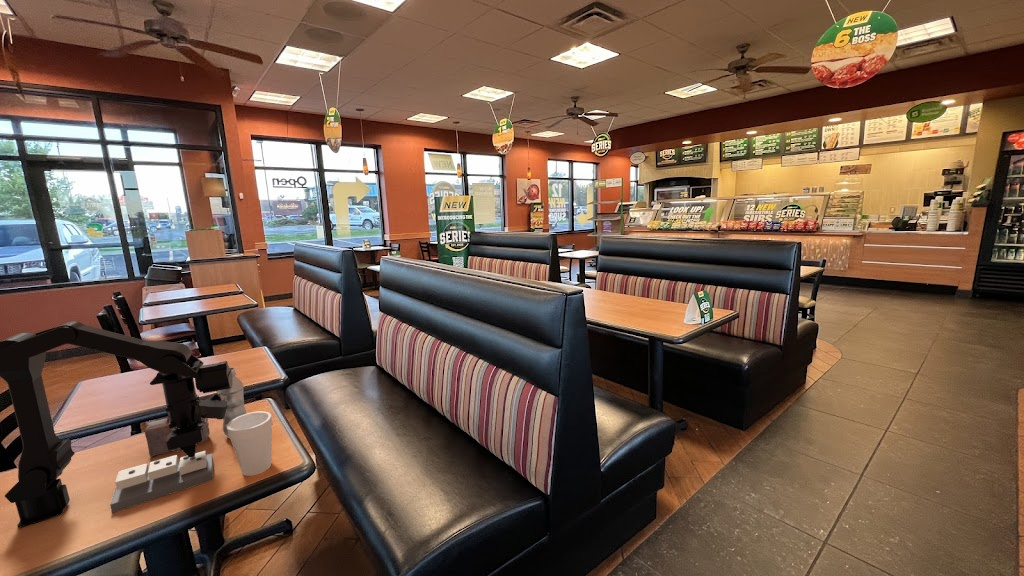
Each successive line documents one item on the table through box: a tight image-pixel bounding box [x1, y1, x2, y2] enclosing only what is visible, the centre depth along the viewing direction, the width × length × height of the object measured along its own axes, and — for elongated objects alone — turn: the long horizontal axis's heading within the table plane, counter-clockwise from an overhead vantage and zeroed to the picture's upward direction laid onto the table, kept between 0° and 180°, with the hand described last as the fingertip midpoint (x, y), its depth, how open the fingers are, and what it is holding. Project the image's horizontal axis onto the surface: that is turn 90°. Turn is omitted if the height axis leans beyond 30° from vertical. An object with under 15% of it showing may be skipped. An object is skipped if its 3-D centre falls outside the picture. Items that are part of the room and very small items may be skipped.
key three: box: [179, 450, 207, 475], centre depth 102 cm, size 5×5×2 cm
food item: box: [144, 417, 211, 458], centre depth 115 cm, size 14×8×10 cm, turn 125°
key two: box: [148, 454, 179, 481], centre depth 98 cm, size 5×5×2 cm
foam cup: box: [226, 410, 274, 477], centre depth 103 cm, size 10×9×13 cm
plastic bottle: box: [215, 367, 247, 438], centre depth 118 cm, size 6×7×20 cm
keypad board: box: [109, 453, 214, 514], centre depth 99 cm, size 18×10×2 cm, turn 126°
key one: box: [114, 462, 149, 490], centre depth 95 cm, size 5×5×2 cm
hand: (192, 456), depth 101 cm, fingers closed
